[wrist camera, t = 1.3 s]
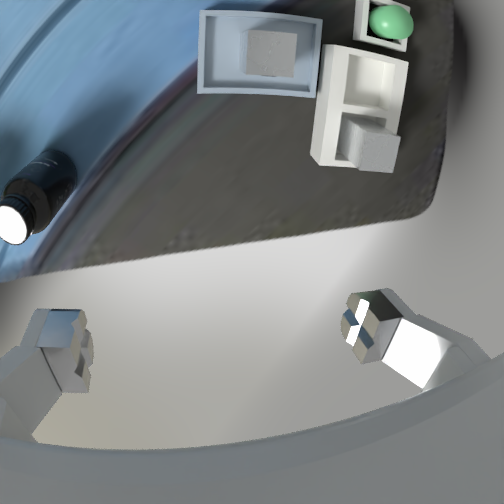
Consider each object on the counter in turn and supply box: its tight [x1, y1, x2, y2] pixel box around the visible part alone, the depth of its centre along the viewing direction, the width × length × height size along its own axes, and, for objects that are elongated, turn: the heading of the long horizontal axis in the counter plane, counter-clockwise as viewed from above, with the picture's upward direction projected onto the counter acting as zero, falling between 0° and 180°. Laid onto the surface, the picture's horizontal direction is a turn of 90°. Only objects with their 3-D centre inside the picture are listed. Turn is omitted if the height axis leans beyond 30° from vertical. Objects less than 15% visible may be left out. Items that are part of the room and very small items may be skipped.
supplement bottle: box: [0, 150, 77, 245], centre depth 28 cm, size 7×7×12 cm
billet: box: [238, 30, 297, 78], centre depth 25 cm, size 4×4×7 cm
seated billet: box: [336, 115, 401, 173], centre depth 31 cm, size 4×4×7 cm
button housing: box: [353, 0, 410, 52], centre depth 26 cm, size 6×6×2 cm
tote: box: [197, 10, 323, 98], centre depth 28 cm, size 9×12×2 cm
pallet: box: [310, 44, 409, 168], centre depth 31 cm, size 14×9×4 cm, turn 177°
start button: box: [369, 5, 413, 39], centre depth 24 cm, size 4×4×3 cm
